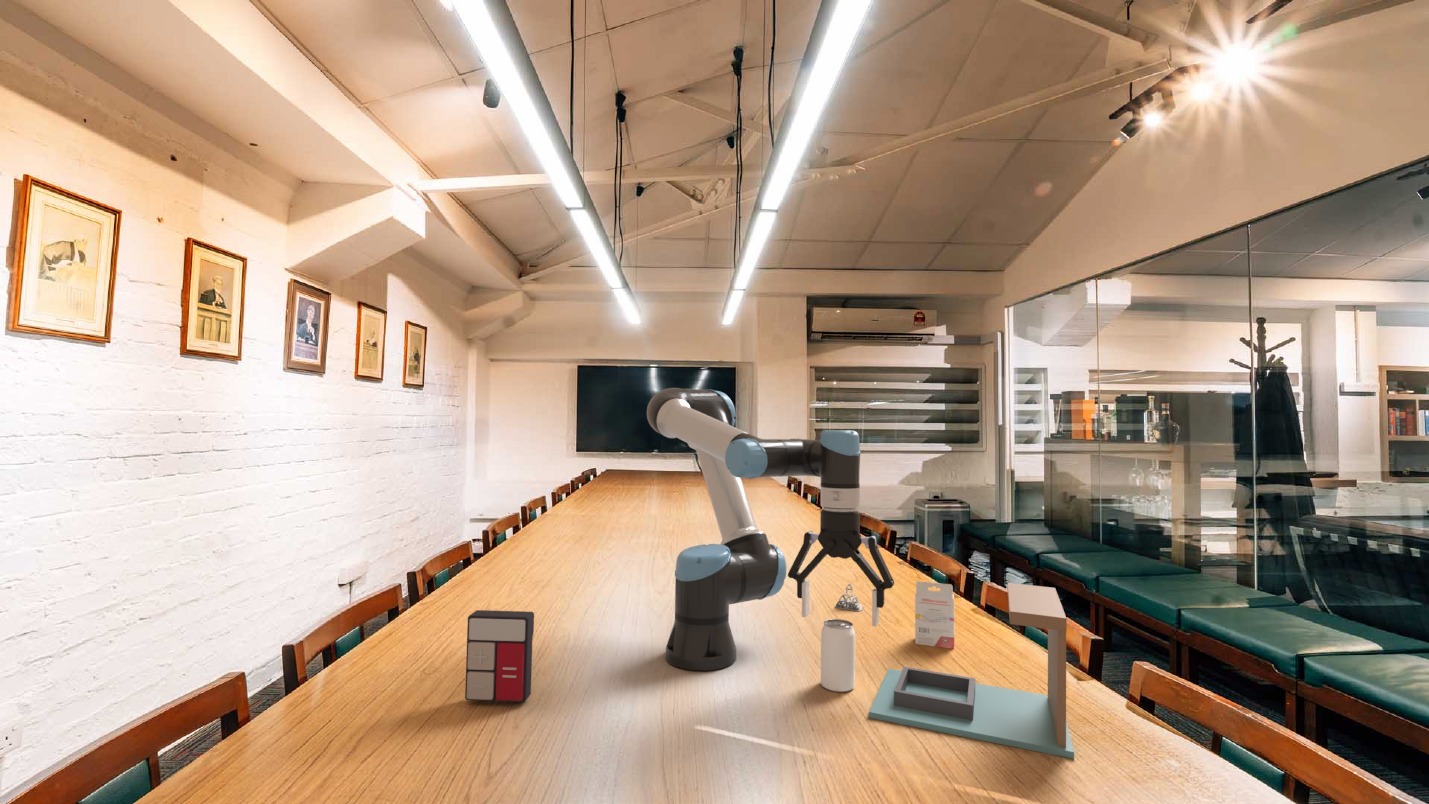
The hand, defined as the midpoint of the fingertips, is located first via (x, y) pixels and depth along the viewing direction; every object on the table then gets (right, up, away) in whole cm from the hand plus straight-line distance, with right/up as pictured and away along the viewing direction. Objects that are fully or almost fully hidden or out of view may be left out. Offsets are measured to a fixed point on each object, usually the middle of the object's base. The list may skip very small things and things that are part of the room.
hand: (839, 619), depth 124 cm
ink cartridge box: (+27, -14, +25) cm, 39 cm away
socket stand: (+21, -13, -10) cm, 26 cm away
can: (0, -13, 0) cm, 13 cm away
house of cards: (+14, -16, +52) cm, 56 cm away
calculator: (-63, -11, -9) cm, 65 cm away
